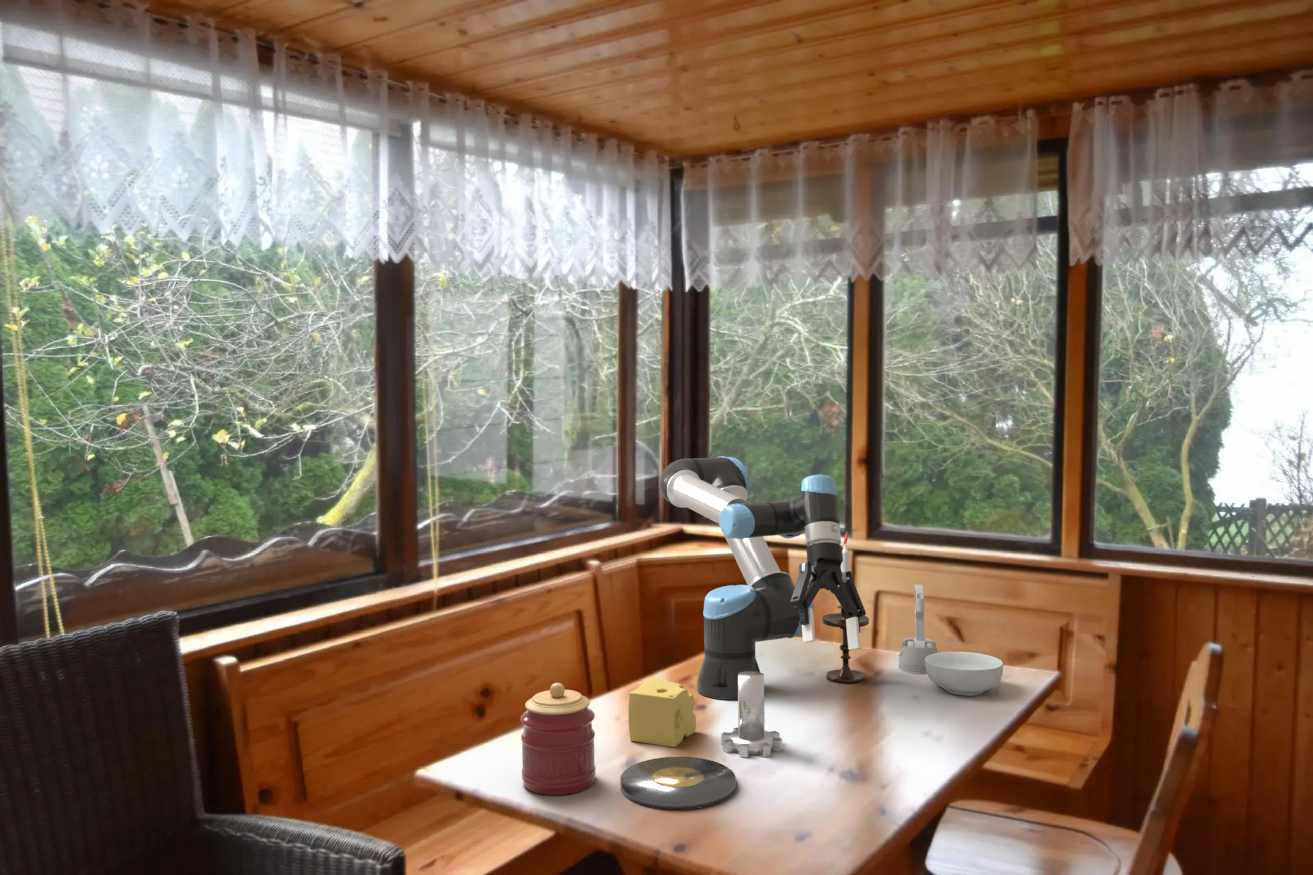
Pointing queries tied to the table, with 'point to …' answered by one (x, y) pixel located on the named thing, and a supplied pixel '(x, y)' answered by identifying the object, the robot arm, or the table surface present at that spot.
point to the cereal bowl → (964, 671)
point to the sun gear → (751, 721)
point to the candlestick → (844, 636)
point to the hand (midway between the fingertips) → (832, 645)
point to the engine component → (916, 641)
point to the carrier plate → (678, 783)
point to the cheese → (661, 713)
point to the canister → (558, 742)
